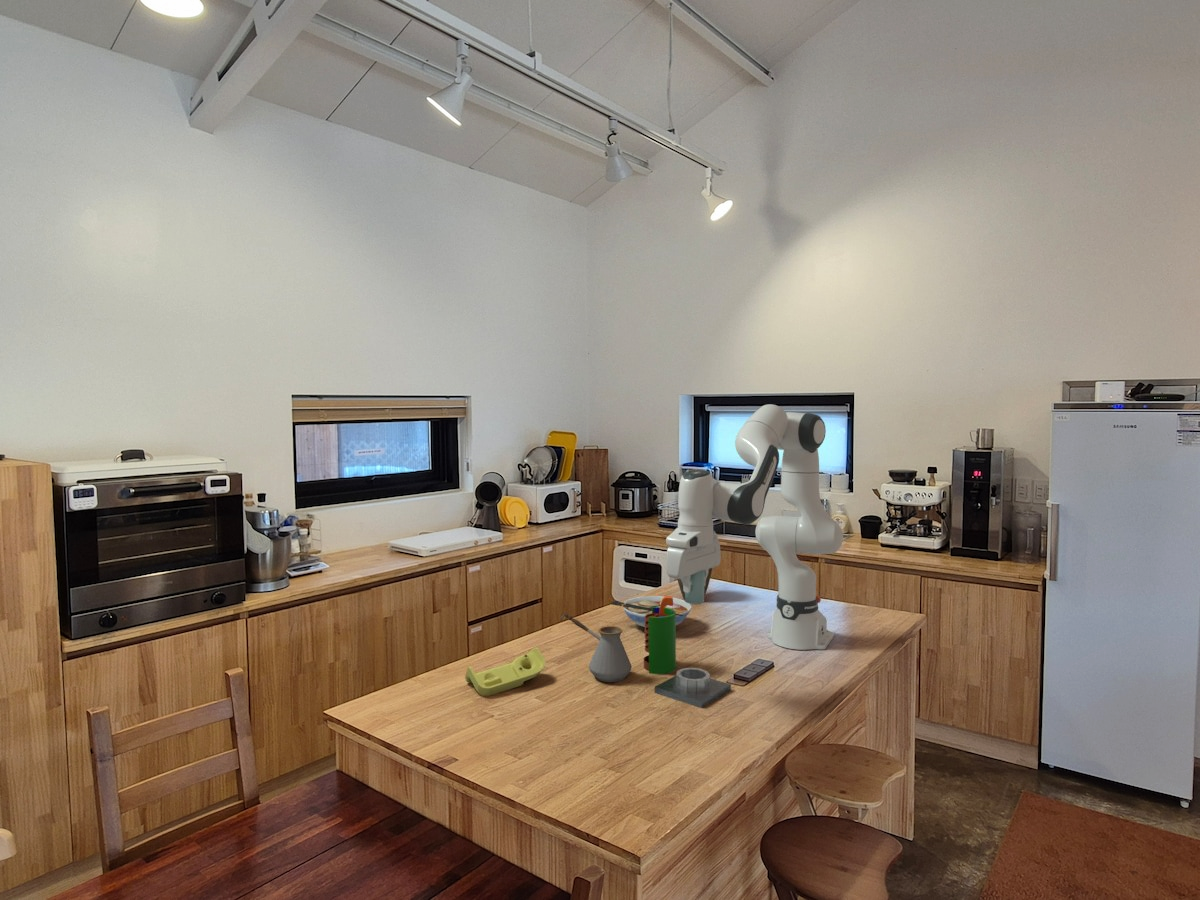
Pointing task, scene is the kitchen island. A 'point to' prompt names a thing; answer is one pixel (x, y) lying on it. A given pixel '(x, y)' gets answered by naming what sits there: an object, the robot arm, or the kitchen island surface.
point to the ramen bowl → (643, 606)
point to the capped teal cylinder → (696, 589)
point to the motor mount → (693, 687)
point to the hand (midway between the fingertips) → (694, 589)
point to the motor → (661, 638)
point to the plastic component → (507, 674)
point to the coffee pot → (607, 654)
